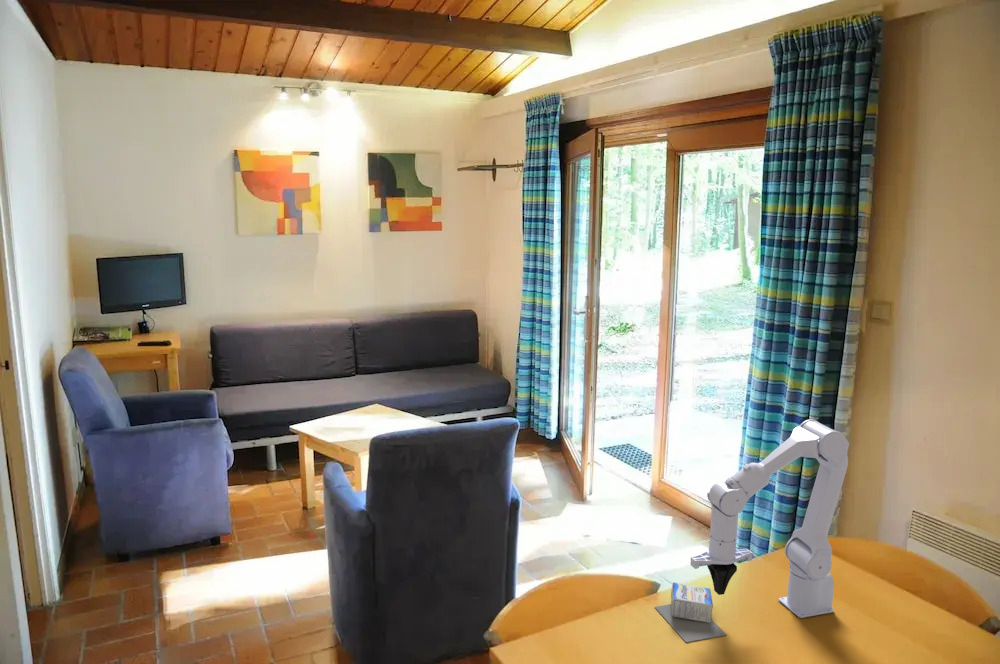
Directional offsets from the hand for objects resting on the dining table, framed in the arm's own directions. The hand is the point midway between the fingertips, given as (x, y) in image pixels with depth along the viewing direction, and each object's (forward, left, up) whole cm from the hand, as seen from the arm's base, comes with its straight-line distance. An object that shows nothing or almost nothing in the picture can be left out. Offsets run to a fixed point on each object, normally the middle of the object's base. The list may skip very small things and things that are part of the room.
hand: (719, 592), depth 166 cm
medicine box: (+1, -1, -4) cm, 4 cm away
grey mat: (+7, 0, -6) cm, 9 cm away
